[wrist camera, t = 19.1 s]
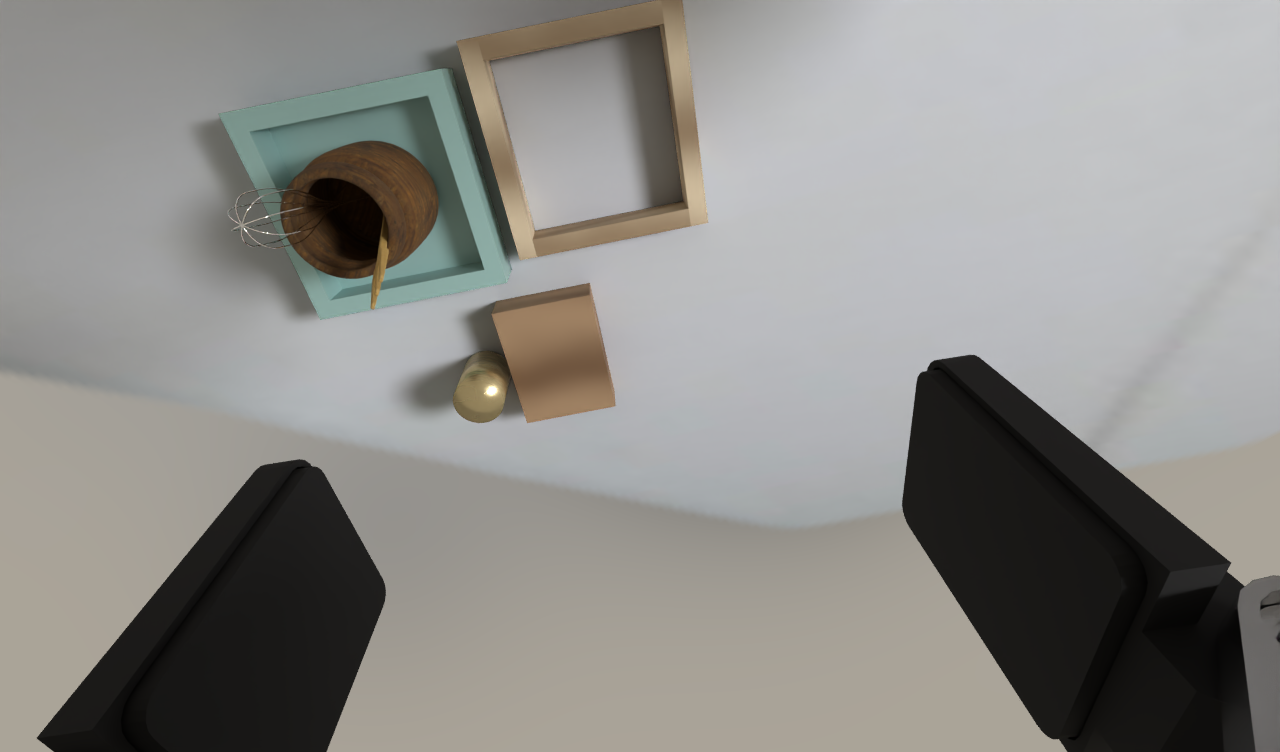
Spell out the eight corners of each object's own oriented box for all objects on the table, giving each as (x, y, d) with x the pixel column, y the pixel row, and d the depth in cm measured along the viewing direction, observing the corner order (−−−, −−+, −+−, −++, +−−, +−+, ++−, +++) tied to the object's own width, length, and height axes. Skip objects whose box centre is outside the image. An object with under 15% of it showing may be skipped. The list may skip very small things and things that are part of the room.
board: (497, 298, 36) (491, 314, 34) (589, 280, 36) (589, 295, 34) (530, 403, 40) (527, 423, 38) (614, 387, 40) (615, 406, 38)
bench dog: (459, 356, 37) (445, 386, 34) (503, 347, 37) (495, 376, 34) (473, 394, 39) (462, 426, 35) (516, 385, 39) (509, 417, 35)
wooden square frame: (464, 42, 29) (456, 41, 27) (675, -1, 29) (681, -5, 27) (523, 250, 34) (519, 260, 32) (701, 214, 34) (708, 222, 32)
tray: (245, 110, 29) (218, 114, 27) (451, 68, 29) (440, 68, 27) (337, 303, 35) (320, 319, 33) (511, 269, 35) (506, 282, 33)
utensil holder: (343, 116, 29) (209, 145, 19) (461, 171, 31) (399, 225, 21) (319, 220, 32) (187, 296, 21) (430, 265, 34) (360, 356, 23)
